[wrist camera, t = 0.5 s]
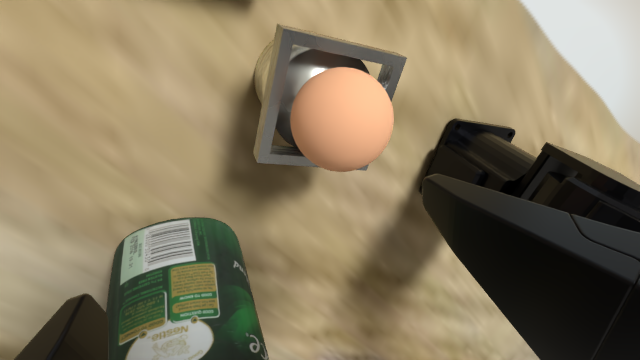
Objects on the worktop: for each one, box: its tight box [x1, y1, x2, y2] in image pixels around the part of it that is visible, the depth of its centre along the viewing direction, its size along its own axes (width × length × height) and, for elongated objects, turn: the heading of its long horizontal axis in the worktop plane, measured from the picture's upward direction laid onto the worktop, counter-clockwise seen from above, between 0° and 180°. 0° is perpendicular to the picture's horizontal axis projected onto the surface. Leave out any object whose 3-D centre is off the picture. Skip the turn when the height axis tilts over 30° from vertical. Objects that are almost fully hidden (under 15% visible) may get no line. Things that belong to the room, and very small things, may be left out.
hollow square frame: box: [253, 24, 407, 170], centre depth 18 cm, size 6×6×5 cm
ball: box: [290, 67, 394, 172], centre depth 15 cm, size 4×4×4 cm
